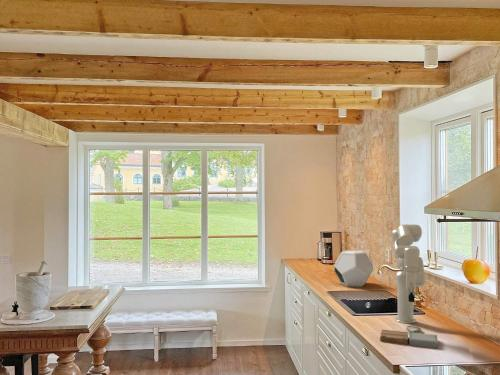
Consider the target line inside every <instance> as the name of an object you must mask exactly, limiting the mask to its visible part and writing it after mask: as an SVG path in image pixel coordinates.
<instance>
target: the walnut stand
mask: <svg viewBox="0 0 500 375" xmlns="http://www.w3.org/2000/svg"><path fill="white" fill-rule="evenodd" d="M379 342H382V343H383V342H385V343H391V344H397V345H405V346H408V343H409V331H400V330H389V329H381V332H380V337H379Z"/></svg>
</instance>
